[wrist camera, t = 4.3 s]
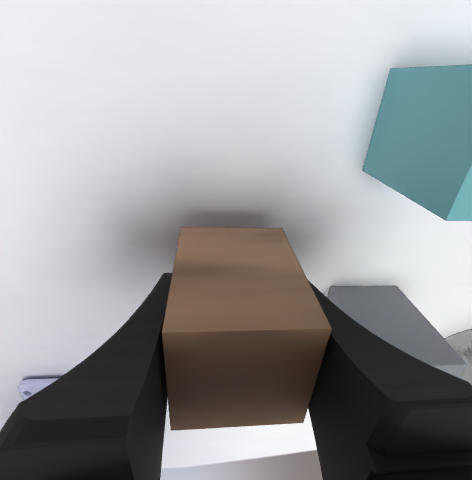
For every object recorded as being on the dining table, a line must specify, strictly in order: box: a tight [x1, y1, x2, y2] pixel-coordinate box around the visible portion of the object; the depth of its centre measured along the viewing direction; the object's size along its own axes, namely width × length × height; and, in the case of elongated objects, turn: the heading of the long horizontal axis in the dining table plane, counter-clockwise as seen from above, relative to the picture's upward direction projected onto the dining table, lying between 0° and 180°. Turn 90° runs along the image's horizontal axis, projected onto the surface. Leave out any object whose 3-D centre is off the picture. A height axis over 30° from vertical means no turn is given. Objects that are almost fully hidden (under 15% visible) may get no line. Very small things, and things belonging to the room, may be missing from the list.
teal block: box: [362, 65, 472, 221], centre depth 11 cm, size 4×4×6 cm
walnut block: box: [162, 227, 332, 430], centre depth 11 cm, size 4×4×6 cm
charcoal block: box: [327, 286, 467, 378], centre depth 17 cm, size 4×4×6 cm
